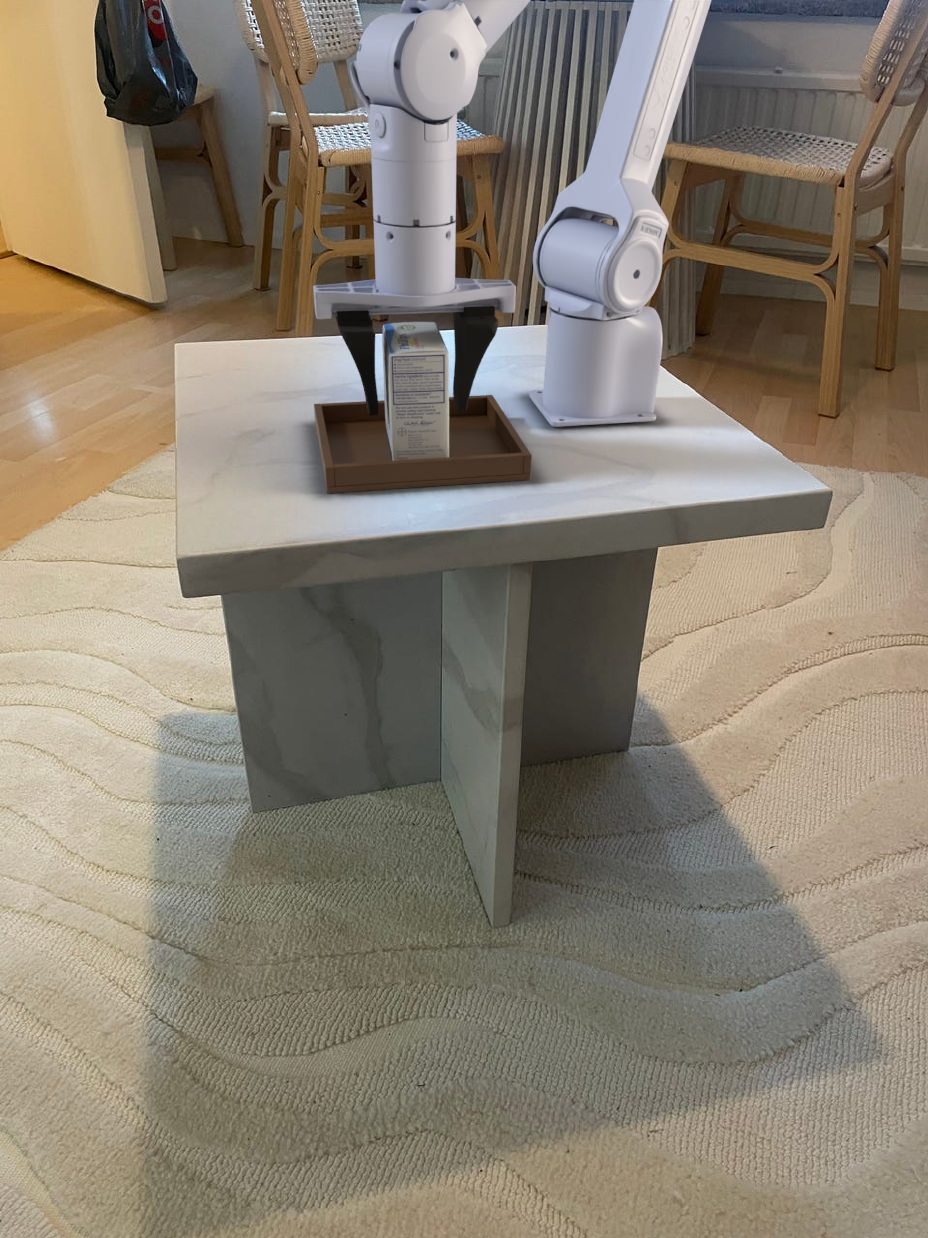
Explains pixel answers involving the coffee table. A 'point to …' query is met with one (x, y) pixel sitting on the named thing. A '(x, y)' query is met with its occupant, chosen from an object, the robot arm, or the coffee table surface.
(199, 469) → the coffee table surface
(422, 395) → the medicine box
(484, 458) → the tray
